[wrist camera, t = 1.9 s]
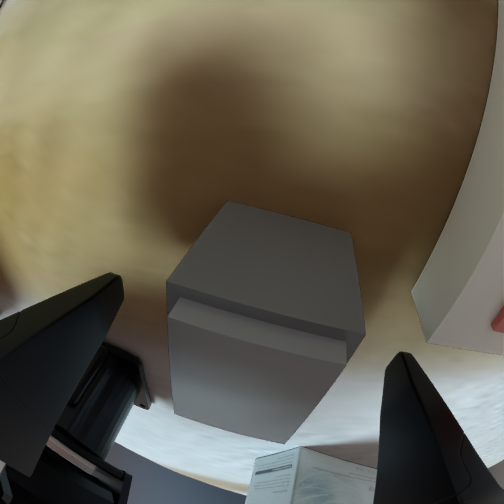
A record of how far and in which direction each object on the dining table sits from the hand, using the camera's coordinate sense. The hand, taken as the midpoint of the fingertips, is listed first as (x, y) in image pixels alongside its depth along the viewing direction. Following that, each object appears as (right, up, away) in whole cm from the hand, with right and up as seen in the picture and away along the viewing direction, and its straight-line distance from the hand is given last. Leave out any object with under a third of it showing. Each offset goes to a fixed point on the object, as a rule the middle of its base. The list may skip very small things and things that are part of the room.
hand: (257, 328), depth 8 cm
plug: (+1, +1, +2) cm, 3 cm away
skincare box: (+6, -17, +12) cm, 21 cm away
